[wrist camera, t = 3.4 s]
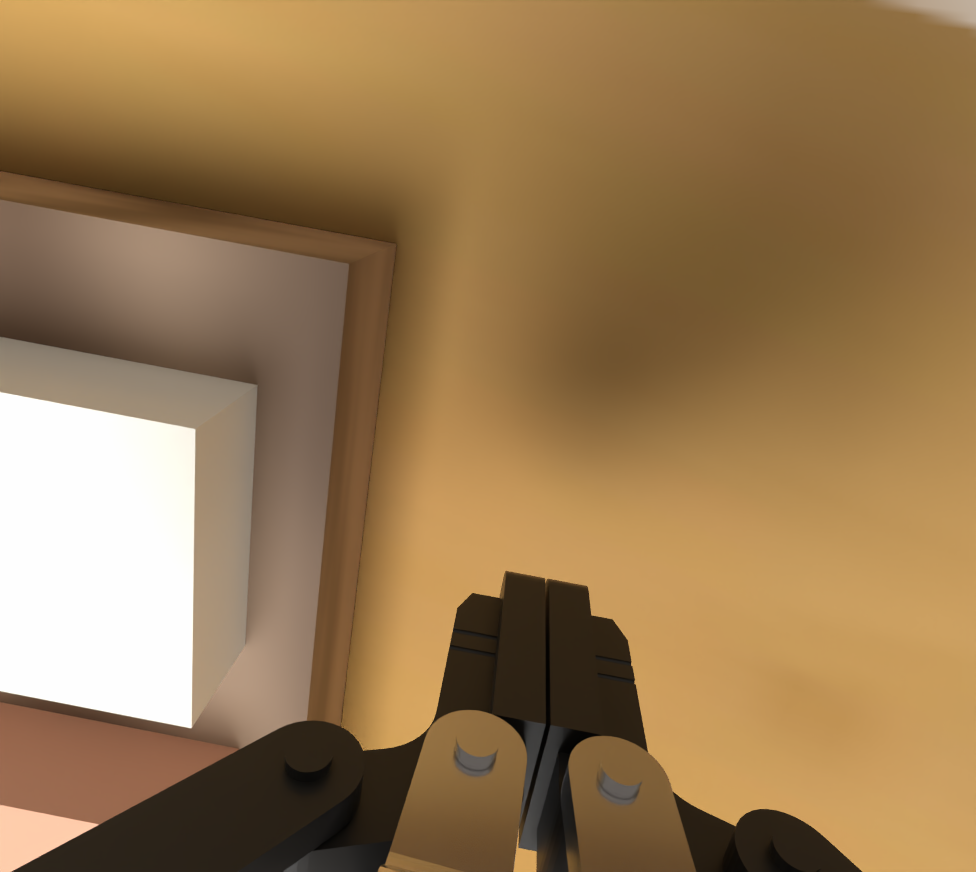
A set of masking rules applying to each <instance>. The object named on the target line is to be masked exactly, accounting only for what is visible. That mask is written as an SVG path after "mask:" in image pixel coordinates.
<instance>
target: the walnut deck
mask: <svg viewBox="0 0 976 872" xmlns="http://www.w3.org/2000/svg"><path fill="white" fill-rule="evenodd" d="M396 245H397V244H395V243H390V242H384V241H379V240H373V239H368V238H363V237H357V236H352V235H346V234H341V233H335V232H330V231H324V230H319V229H314V228H308V227H303V226H297V225H292V224H286V223H281V222H275V221H270V220H265V219H259V218H254V217H248V216H243V215H237V214H232V213H227V212H221V211H216V210H210V209H205V208H199V207H194V206H188V205H183V204H178V203H172V202H167V201H161V200H156V199H150V198H145V197H140V196H134V195H129V194H123V193H118V192H112V191H107V190H101V189H96V188H91V187H85V186H80V185H74V184H69V183H63V182H58V181H52V180H47V179H42V178H36V177H31V176H25V175H20V174H14V173H9V172H4V171H0V337H4V338H10V339H15V340H20V341H26V342H31V343H36V344H42V345H47V346H52V347H58V348H63V349H68V350H74V351H79V352H84V353H90V354H95V355H100V356H106V357H111V358H116V359H122V360H127V361H132V362H138V363H143V364H148V365H154V366H159V367H164V368H170V369H175V370H180V371H186V372H191V373H196V374H202V375H207V376H212V377H218V378H223V379H228V380H234V381H239V382H244V383H250V384H255V385H258V386H257V407H256V428H255V449H254V470H253V491H252V512H251V533H250V554H249V575H248V596H247V618H246V639H245V646H244V648H243V650H242V651H241V653H240V654H239V656H238V657H237V659H236V660H235V662H234V663H233V665H232V667H231V668H230V670H229V671H228V673H227V674H226V676H225V677H224V679H223V680H222V682H221V684H220V685H219V687H218V688H217V690H216V691H215V693H214V694H213V696H212V697H211V699H210V701H209V702H208V704H207V705H206V707H205V708H204V710H203V711H202V713H201V714H200V716H199V718H198V719H197V721H196V722H195V724H194V725H193V727H192V728H187V727H182V726H177V725H172V724H167V723H162V722H156V721H151V720H146V719H141V718H136V717H131V716H126V715H121V714H115V713H110V712H105V711H100V710H95V709H90V708H85V707H80V706H74V705H69V704H64V703H59V702H54V701H49V700H44V699H39V698H33V697H28V696H23V695H18V694H13V693H8V692H3V691H0V702H2V703H7V704H13V705H18V706H23V707H28V708H33V709H38V710H43V711H48V712H53V713H59V714H64V715H69V716H74V717H79V718H84V719H89V720H94V721H100V722H105V723H110V724H115V725H120V726H125V727H130V728H135V729H140V730H146V731H151V732H156V733H161V734H166V735H171V736H176V737H181V738H187V739H192V740H197V741H202V742H207V743H212V744H217V745H222V746H227V747H233V748H238V749H241V748H243V747H245V746H247V745H249V744H251V743H252V742H254V741H256V740H258V739H260V738H262V737H264V736H266V735H267V734H269V733H271V732H273V731H275V730H277V729H279V728H281V727H283V726H285V725H288V724H292V723H295V722H300V721H312V720H315V721H324V722H329V723H333V724H335V725H338V726H340V727H341V718H342V710H343V701H344V693H345V684H346V675H347V667H348V658H349V650H350V641H351V632H352V624H353V615H354V607H355V598H356V589H357V581H358V572H359V564H360V555H361V546H362V538H363V529H364V521H365V512H366V503H367V495H368V486H369V478H370V469H371V460H372V452H373V443H374V435H375V426H376V417H377V409H378V400H379V392H380V383H381V374H382V366H383V357H384V349H385V340H386V331H387V323H388V314H389V306H390V297H391V288H392V280H393V271H394V263H395V254H396Z"/></svg>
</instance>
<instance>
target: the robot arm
mask: <svg viewBox="0 0 976 872" xmlns="http://www.w3.org/2000/svg"><path fill="white" fill-rule="evenodd" d="M634 681H635V678H634V673H633V667H632V666H631V656H630V651H629V645H628V640H627V639H626V637H625V636H624V635H623V633H622V632H621V630H620V629H619V628H618V626H617V625H616V624H615V622H614V621H613V620H612V619H607V618H602V617H597V616H591V609H590V600H589V591H588V587H587V586H583V585H578V584H573V583H568V582H562V581H557V580H552V579H547V581H546V583H545V578H540V577H535V576H530V575H525V574H519V573H514V572H509V571H506V572H505V575H504V579H503V583H502V588H501V593H500V598H496V597H491V596H485V595H480V594H475V593H472V594H471V595H470V596H469V597H468V598H467V599H466V600H465V601H464V602H463V603H462V604H461V605H460V606H459V607H458V608H457V613H456V618H455V623H454V628H453V633H452V638H451V643H450V648H449V653H448V658H447V662H446V667H445V672H444V677H443V682H442V687H441V692H440V697H439V702H438V707H437V712H436V715H435V718H434V720H433V722H432V724H431V725H430V727H429V728H428V729H427V730H426V731H425V732H424V733H423V734H422V735H421V736H420V737H418V738H416V739H415V740H413V741H411V742H409V743H407V744H404V745H401V746H398V747H394V748H387V749H378V750H366V751H363V750H362V748H361V746H360V744H359V742H358V741H357V740H356V738H355V737H354V736H353V735H352V734H351V733H349V732H348V731H347V730H345V729H344V728H342V727H340V726H338V725H335V724H333V723H329V722H324V721H315V720H312V721H300V722H295V723H292V724H288V725H285V726H283V727H281V728H279V729H277V730H275V731H273V732H271V733H269V734H267V735H266V736H264V737H262V738H260V739H258V740H256V741H254V742H252V743H251V744H249V745H247V746H245V747H243V748H241V749H239V750H237V751H236V752H234V753H232V754H230V755H228V756H226V757H224V758H223V759H221V760H219V761H217V762H215V763H213V764H211V765H209V766H208V767H206V768H204V769H202V770H200V771H198V772H196V773H195V774H193V775H191V776H189V777H187V778H185V779H183V780H181V781H180V782H178V783H176V784H174V785H172V786H170V787H168V788H167V789H165V790H163V791H161V792H159V793H157V794H155V795H153V796H152V797H150V798H148V799H146V800H144V801H142V802H140V803H138V804H137V805H135V806H133V807H131V808H129V809H127V810H125V811H124V812H122V813H120V814H118V815H116V816H114V817H112V818H110V819H109V820H107V821H105V822H103V823H101V824H99V825H97V826H96V827H94V828H92V829H90V830H88V831H86V832H84V833H82V834H81V835H79V836H77V837H75V838H73V839H71V840H69V841H67V842H66V843H64V844H62V845H60V846H58V847H56V848H54V849H53V850H51V851H49V852H47V853H45V854H43V855H41V856H39V857H38V858H36V859H34V860H32V861H30V862H28V863H26V864H25V865H23V866H21V867H19V868H17V869H15V870H13V871H11V872H513V870H514V862H515V854H516V846H517V838H518V830H519V847H518V848H523V849H528V850H533V851H537V872H862V871H861V870H860V869H859V868H858V867H856V866H855V865H854V864H853V863H852V862H851V861H850V860H849V859H848V858H847V857H845V856H844V855H843V854H842V853H841V852H840V851H839V850H838V849H837V848H836V847H834V846H833V845H832V844H831V843H830V842H829V841H828V840H827V839H826V838H825V837H823V836H822V835H821V834H820V833H819V832H817V831H816V830H815V829H814V828H812V827H811V826H809V825H808V824H806V823H805V822H803V821H801V820H799V819H798V818H796V817H793V816H791V815H789V814H786V813H783V812H780V811H776V810H769V809H759V810H754V811H751V812H748V813H746V814H745V815H744V816H743V817H741V818H740V820H739V821H738V823H737V825H736V826H734V825H731V824H729V823H727V822H725V821H723V820H721V819H719V818H717V817H715V816H713V815H710V814H708V813H706V812H704V811H702V810H700V809H698V808H696V807H694V806H692V805H691V804H689V803H687V802H686V801H684V800H683V799H681V798H680V797H679V796H678V795H676V794H675V793H674V792H673V791H672V788H671V784H670V782H669V779H668V776H667V774H666V773H665V771H664V769H663V768H662V767H661V765H660V764H659V763H658V761H657V760H656V759H655V758H654V757H653V756H652V755H650V754H649V753H648V750H647V745H646V739H645V734H644V728H643V722H642V717H641V711H640V706H639V700H638V695H637V689H636V684H634Z"/></svg>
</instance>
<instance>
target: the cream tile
mask: <svg viewBox="0 0 976 872" xmlns="http://www.w3.org/2000/svg"><path fill="white" fill-rule="evenodd" d="M257 386H258V385H255V384H250V383H244V382H239V381H234V380H228V379H223V378H218V377H212V376H207V375H202V374H196V373H191V372H186V371H180V370H175V369H170V368H164V367H159V366H154V365H148V364H143V363H138V362H132V361H127V360H122V359H116V358H111V357H106V356H100V355H95V354H90V353H84V352H79V351H74V350H68V349H63V348H58V347H52V346H47V345H42V344H36V343H31V342H26V341H20V340H15V339H10V338H4V337H0V691H3V692H8V693H13V694H18V695H23V696H28V697H33V698H39V699H44V700H49V701H54V702H59V703H64V704H69V705H74V706H80V707H85V708H90V709H95V710H100V711H105V712H110V713H115V714H121V715H126V716H131V717H136V718H141V719H146V720H151V721H156V722H162V723H167V724H172V725H177V726H182V727H187V728H192V727H193V725H194V724H195V722H196V721H197V719H198V718H199V716H200V714H201V713H202V711H203V710H204V708H205V707H206V705H207V704H208V702H209V701H210V699H211V697H212V696H213V694H214V693H215V691H216V690H217V688H218V687H219V685H220V684H221V682H222V680H223V679H224V677H225V676H226V674H227V673H228V671H229V670H230V668H231V667H232V665H233V663H234V662H235V660H236V659H237V657H238V656H239V654H240V653H241V651H242V650H243V648H244V646H245V639H246V618H247V596H248V575H249V554H250V533H251V512H252V491H253V470H254V449H255V428H256V407H257Z"/></svg>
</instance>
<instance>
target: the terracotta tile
mask: <svg viewBox="0 0 976 872" xmlns="http://www.w3.org/2000/svg"><path fill="white" fill-rule="evenodd" d="M237 750H239V749H238V748H233V747H227V746H222V745H217V744H212V743H207V742H202V741H197V740H192V739H187V738H181V737H176V736H171V735H166V734H161V733H156V732H151V731H146V730H140V729H135V728H130V727H125V726H120V725H115V724H110V723H105V722H100V721H94V720H89V719H84V718H79V717H74V716H69V715H64V714H59V713H53V712H48V711H43V710H38V709H33V708H28V707H23V706H18V705H13V704H7V703H2V702H0V872H11V871H13V870H15V869H17V868H19V867H21V866H23V865H25V864H26V863H28V862H30V861H32V860H34V859H36V858H38V857H39V856H41V855H43V854H45V853H47V852H49V851H51V850H53V849H54V848H56V847H58V846H60V845H62V844H64V843H66V842H67V841H69V840H71V839H73V838H75V837H77V836H79V835H81V834H82V833H84V832H86V831H88V830H90V829H92V828H94V827H96V826H97V825H99V824H101V823H103V822H105V821H107V820H109V819H110V818H112V817H114V816H116V815H118V814H120V813H122V812H124V811H125V810H127V809H129V808H131V807H133V806H135V805H137V804H138V803H140V802H142V801H144V800H146V799H148V798H150V797H152V796H153V795H155V794H157V793H159V792H161V791H163V790H165V789H167V788H168V787H170V786H172V785H174V784H176V783H178V782H180V781H181V780H183V779H185V778H187V777H189V776H191V775H193V774H195V773H196V772H198V771H200V770H202V769H204V768H206V767H208V766H209V765H211V764H213V763H215V762H217V761H219V760H221V759H223V758H224V757H226V756H228V755H230V754H232V753H234V752H236V751H237Z"/></svg>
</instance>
